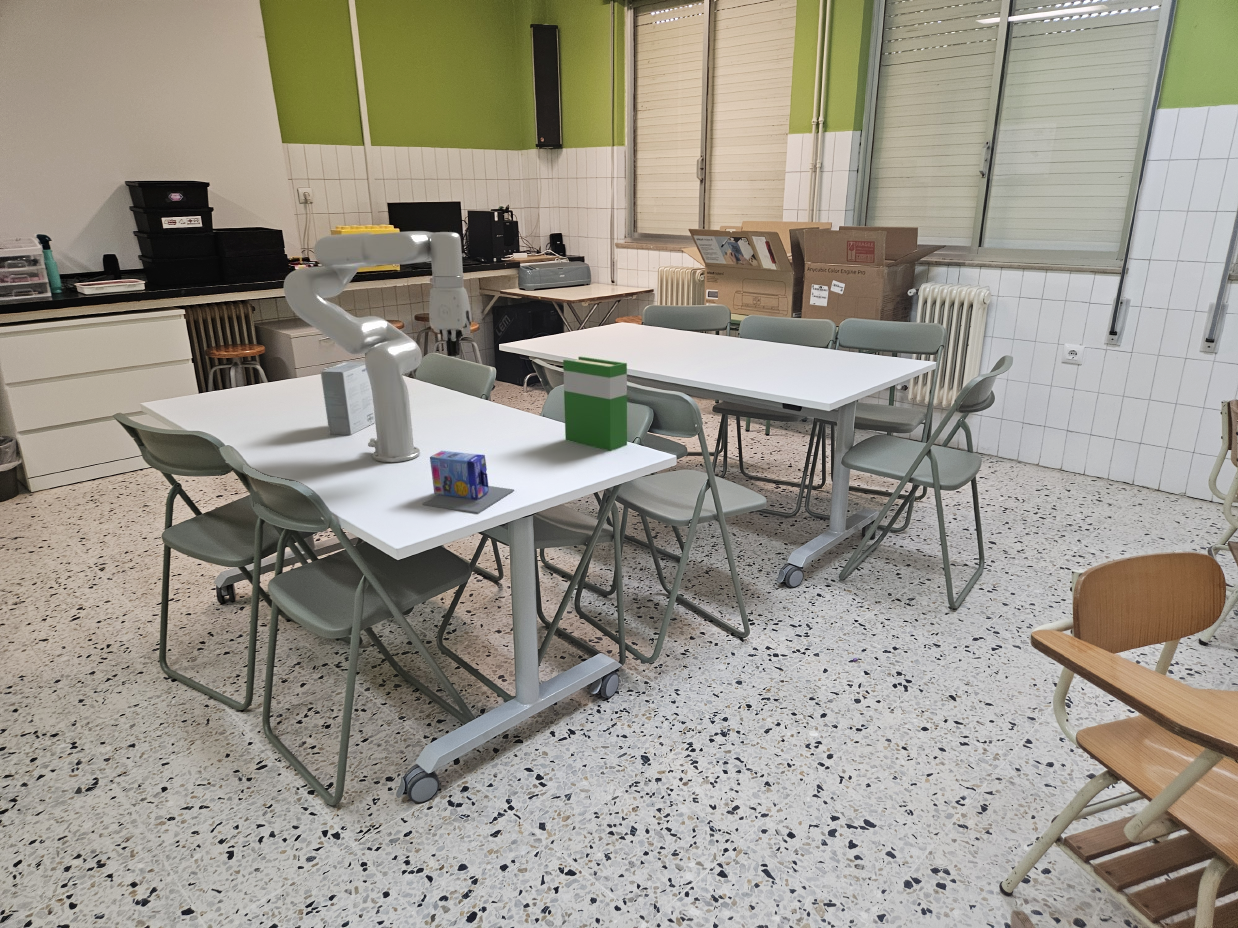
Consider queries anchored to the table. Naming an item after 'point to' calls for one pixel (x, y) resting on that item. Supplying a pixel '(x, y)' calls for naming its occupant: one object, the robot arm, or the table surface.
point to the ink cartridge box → (459, 474)
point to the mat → (469, 501)
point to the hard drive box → (347, 398)
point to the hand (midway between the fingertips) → (453, 355)
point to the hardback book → (595, 402)
